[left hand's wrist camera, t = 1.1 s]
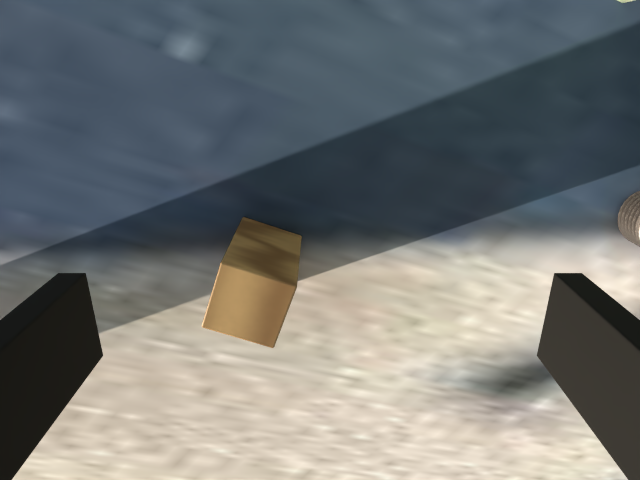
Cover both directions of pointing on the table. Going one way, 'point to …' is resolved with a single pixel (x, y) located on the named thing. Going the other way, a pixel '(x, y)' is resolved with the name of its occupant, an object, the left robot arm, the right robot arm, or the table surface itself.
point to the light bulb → (630, 218)
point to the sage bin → (625, 1)
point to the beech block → (255, 283)
